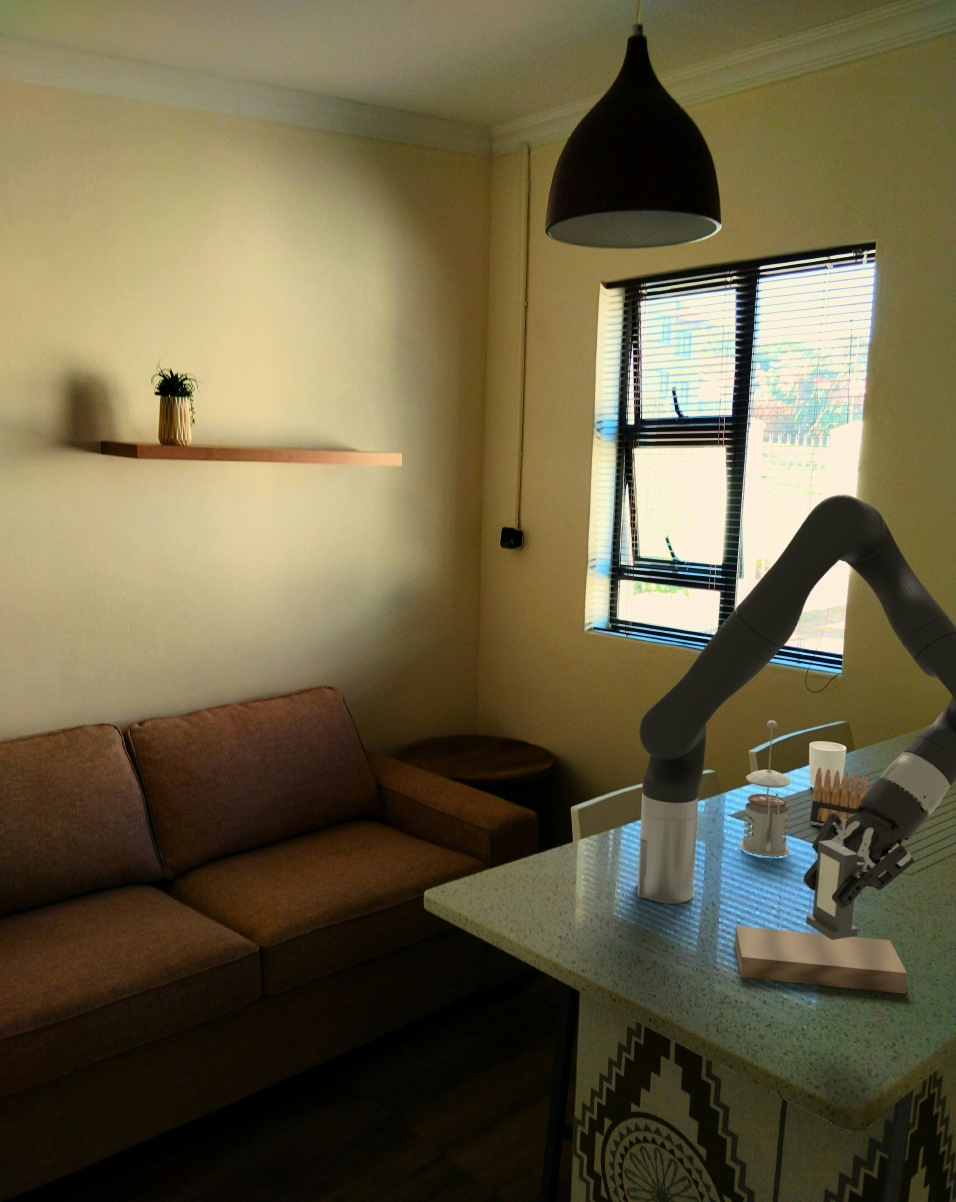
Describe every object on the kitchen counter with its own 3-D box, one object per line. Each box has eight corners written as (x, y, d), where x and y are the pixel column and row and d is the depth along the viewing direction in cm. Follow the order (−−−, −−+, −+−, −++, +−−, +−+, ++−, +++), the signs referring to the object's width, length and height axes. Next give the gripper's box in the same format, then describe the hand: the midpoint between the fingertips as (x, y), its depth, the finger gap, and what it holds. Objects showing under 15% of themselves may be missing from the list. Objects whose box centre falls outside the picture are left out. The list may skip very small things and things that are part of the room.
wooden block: (740, 977, 143) (742, 957, 143) (734, 945, 153) (735, 926, 152) (905, 993, 139) (906, 973, 139) (888, 959, 149) (889, 940, 149)
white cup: (846, 787, 232) (849, 745, 231) (838, 796, 225) (841, 752, 224) (811, 781, 236) (814, 739, 235) (802, 790, 229) (805, 746, 228)
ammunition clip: (866, 833, 203) (870, 774, 201) (864, 835, 201) (868, 777, 199) (811, 822, 208) (815, 765, 207) (809, 824, 207) (813, 767, 205)
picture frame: (831, 940, 128) (838, 856, 127) (805, 923, 133) (812, 842, 131) (857, 935, 129) (864, 853, 128) (830, 919, 134) (837, 839, 133)
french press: (785, 841, 197) (793, 715, 193) (798, 864, 185) (807, 730, 182) (733, 838, 198) (741, 713, 194) (743, 861, 186) (751, 728, 183)
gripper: (851, 762, 138) (771, 856, 135) (932, 795, 124) (845, 900, 122) (879, 796, 140) (801, 889, 138) (961, 832, 127) (877, 936, 124)
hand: (822, 894), depth 130 cm, fingers closed on picture frame, 5 cm apart
